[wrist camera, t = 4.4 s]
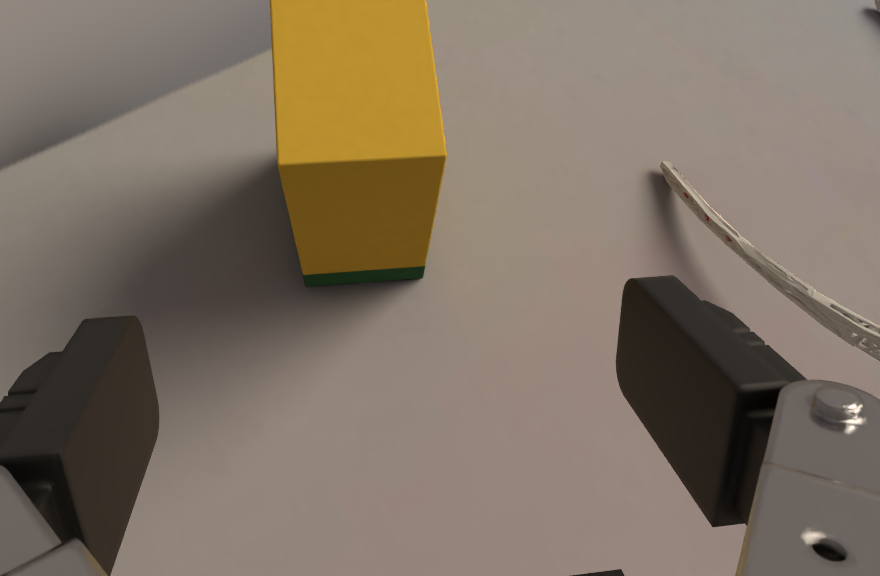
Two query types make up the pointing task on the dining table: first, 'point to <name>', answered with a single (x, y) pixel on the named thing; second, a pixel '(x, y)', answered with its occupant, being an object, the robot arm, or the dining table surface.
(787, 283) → the sunglasses
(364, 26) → the sponge
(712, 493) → the robot arm
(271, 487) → the dining table surface
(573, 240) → the dining table surface
